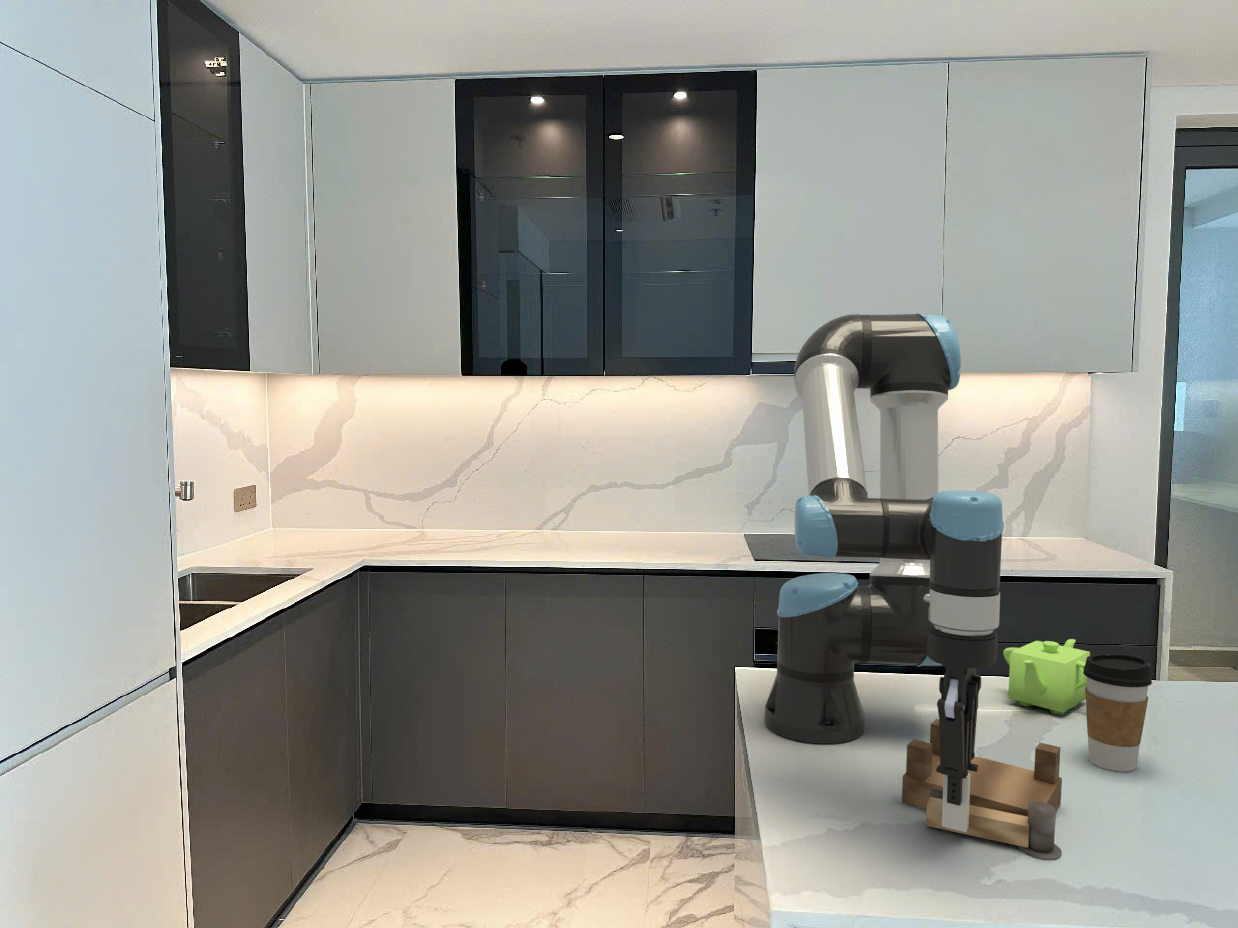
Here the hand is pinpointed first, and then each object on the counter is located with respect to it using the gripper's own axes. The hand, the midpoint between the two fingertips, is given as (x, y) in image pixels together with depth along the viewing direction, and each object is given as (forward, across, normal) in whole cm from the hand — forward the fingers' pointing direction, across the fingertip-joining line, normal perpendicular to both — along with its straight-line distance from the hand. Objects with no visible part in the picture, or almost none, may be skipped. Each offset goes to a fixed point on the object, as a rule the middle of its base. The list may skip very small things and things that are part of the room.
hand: (955, 826), depth 103 cm
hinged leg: (+1, -2, +3) cm, 4 cm away
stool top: (+1, -9, +2) cm, 10 cm away
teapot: (+1, -55, +4) cm, 56 cm away
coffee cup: (+2, -34, +15) cm, 37 cm away
